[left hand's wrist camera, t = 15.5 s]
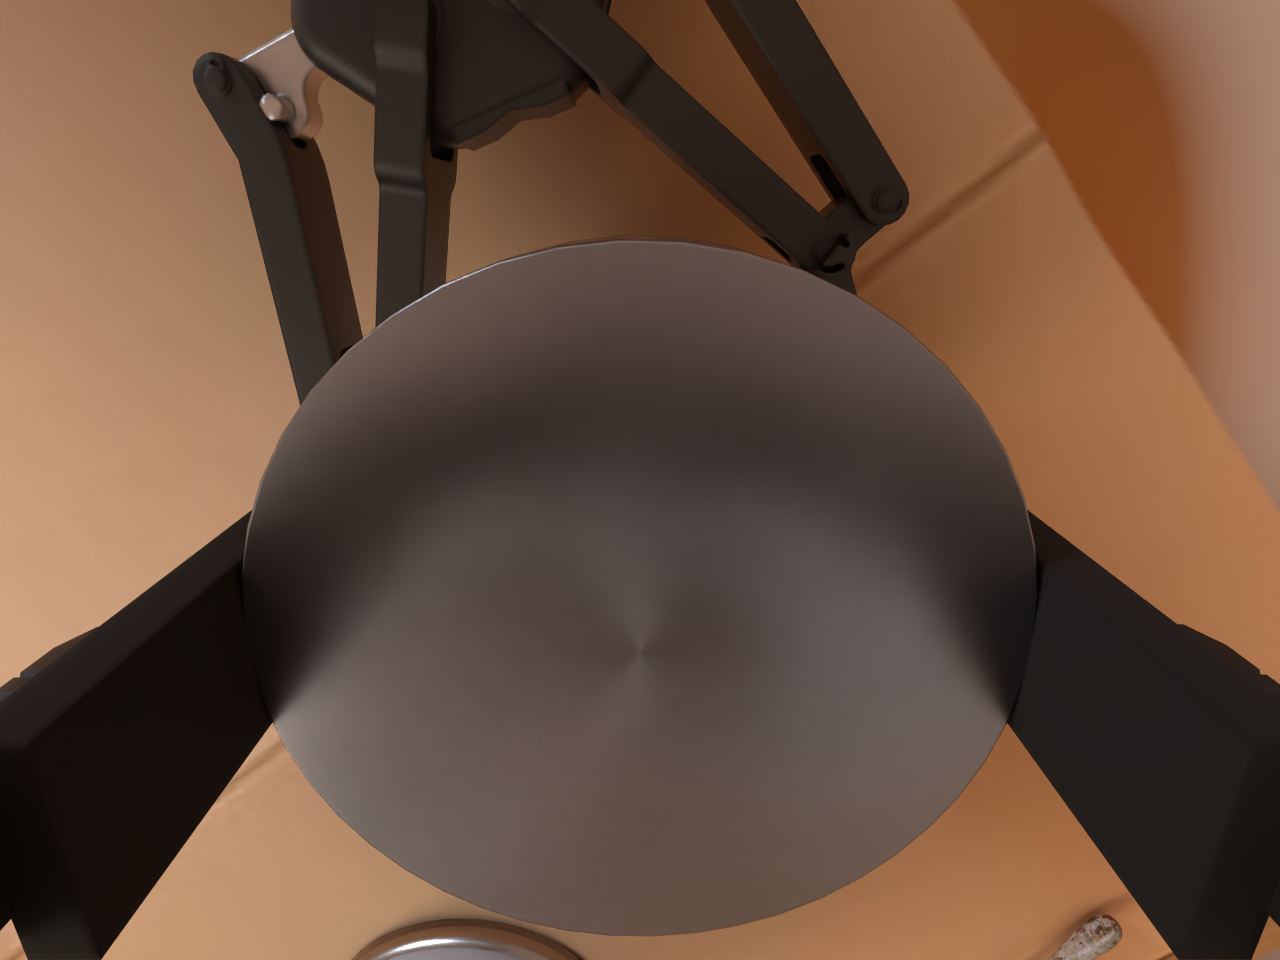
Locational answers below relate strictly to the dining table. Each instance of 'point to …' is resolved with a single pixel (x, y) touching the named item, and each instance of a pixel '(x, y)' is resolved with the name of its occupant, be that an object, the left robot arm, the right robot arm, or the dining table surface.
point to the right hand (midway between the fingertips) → (689, 546)
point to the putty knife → (1090, 939)
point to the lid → (639, 587)
